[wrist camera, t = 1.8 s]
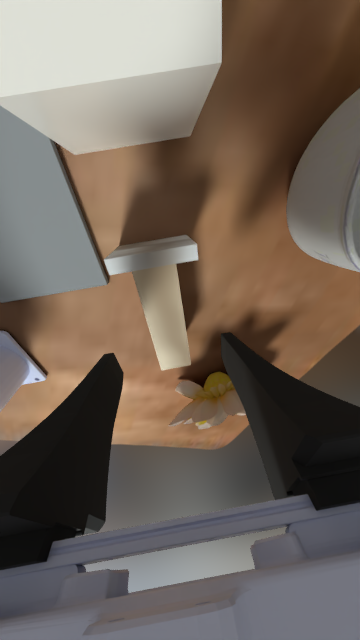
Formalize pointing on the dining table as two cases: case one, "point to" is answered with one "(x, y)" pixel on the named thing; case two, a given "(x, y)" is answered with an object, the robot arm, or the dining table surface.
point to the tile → (109, 68)
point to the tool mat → (40, 219)
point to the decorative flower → (209, 401)
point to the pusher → (159, 291)
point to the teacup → (329, 190)
